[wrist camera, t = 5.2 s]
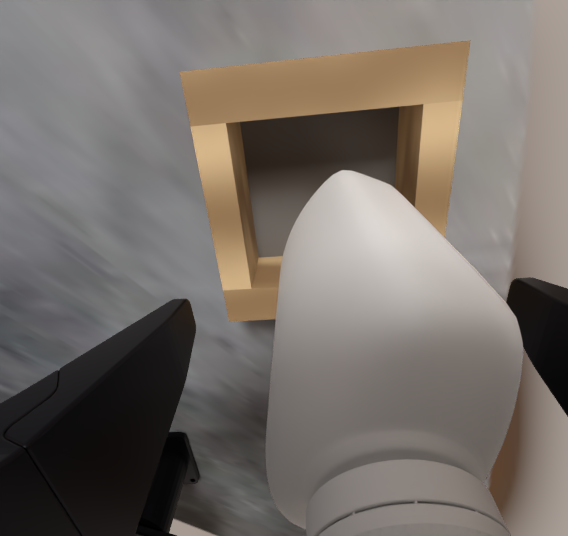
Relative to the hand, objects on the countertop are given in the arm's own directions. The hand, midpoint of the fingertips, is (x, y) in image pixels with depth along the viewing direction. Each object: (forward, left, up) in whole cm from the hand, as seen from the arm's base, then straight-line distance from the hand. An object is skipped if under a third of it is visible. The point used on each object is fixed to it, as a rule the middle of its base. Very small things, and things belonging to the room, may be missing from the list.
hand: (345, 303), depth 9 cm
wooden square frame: (0, 0, -12) cm, 12 cm away
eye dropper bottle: (0, 0, -4) cm, 4 cm away
